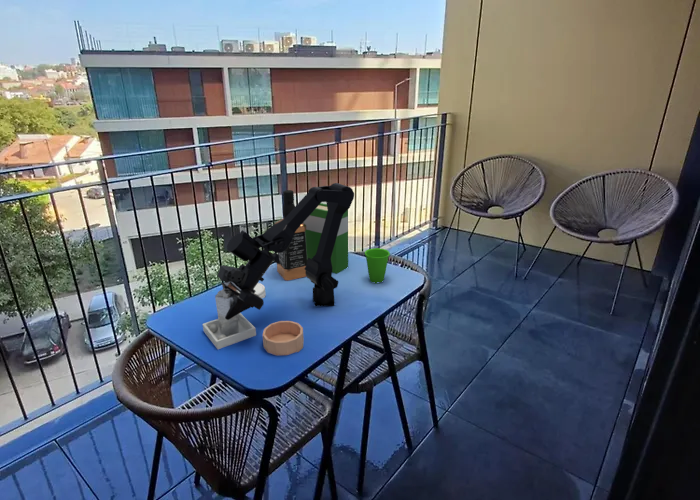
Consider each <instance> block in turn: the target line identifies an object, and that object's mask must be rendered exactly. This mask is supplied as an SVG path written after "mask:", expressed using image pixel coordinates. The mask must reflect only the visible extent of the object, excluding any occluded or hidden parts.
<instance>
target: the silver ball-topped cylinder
mask: <svg viewBox="0 0 700 500" xmlns="http://www.w3.org/2000/svg"><path fill="white" fill-rule="evenodd" d="M234 294H235V293H234V292H231V290H230V289H223V288H222V289H221V290H219V291H217V294H216V295H214V298H215V305H216V306H215V307H216V312H217V319H218V320H219V327H220V334H221V335H222V334H223V335H225V336H226V337H228V336H231V335H234V334H236V333H239V324H238V316H237V315H236V316H234V317H232V318H231V319H229V320H227V319H225V317H226V315H227V313H228V311H229V309H230V308H231V306H232V304H233V302H234Z"/></svg>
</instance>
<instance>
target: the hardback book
mask: <svg viewBox="0 0 700 500" xmlns="http://www.w3.org/2000/svg"><path fill="white" fill-rule="evenodd" d="M327 212H328V209H327V203H324V202H321V203H320V204H319V206H318V207H317V208H316V209H315V210H314V211H313V212H312V213H311V214H310V216H309V217H308V218H307V219H306V220H305V221H304V222H303V223H304V224H305V225H306V231H305V235H306V249H307V259H308V258H311V259H312V258H313V257H314V256H315V255H316V252H317V248H318V245H319V241H320V237H321V234H322V230H323V226H324V223H325V219H326V215H327ZM331 263H332V274H335V275H338V274H339V273H341V272H343V271H345V270H346V268H347V267H348V268H349V209H348V210H347V211H346V212H345V213H344V214H343V217H342V220H341V224H340V227H339V231H338V235H337V238H336V242H335V245H334V249H333V252H332V256H331ZM348 268H347V269H348ZM344 269H345V270H344Z"/></svg>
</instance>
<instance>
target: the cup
mask: <svg viewBox="0 0 700 500" xmlns="http://www.w3.org/2000/svg"><path fill="white" fill-rule="evenodd" d="M364 255H365V260H366V264H367V265H366V266H367V272H368V279H369V281H370V282H371V283H372V282H375V283H374V284H378V283H377V282H382V281H383V280H385V275H386V272H387V271H386V270H387V266H388V261H389V256H391V253H390V251H389V250H388V249H386V248H380V247H379V248H378V247H377V248H374V247H373V248H368V249H366V250H365V251H364ZM383 282H384V281H383ZM383 282H382V283H383Z"/></svg>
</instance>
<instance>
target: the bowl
mask: <svg viewBox="0 0 700 500" xmlns="http://www.w3.org/2000/svg"><path fill="white" fill-rule="evenodd" d="M304 339H305V338H304V327H303V326H302V325H301V324H300V323H299V322H296V321H292V320H279V321H276V322H272V323H270V324H269V325H267V326H266V327H264V329H263V332H262V343H263V349H264V350H265V351H266V352H267V353H268V354H270V355H271V354H272V355H274V356H288V355H289V356H290V355H291V354H294V353H299V352H300V351H301V350H302V349H303V348H304Z"/></svg>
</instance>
